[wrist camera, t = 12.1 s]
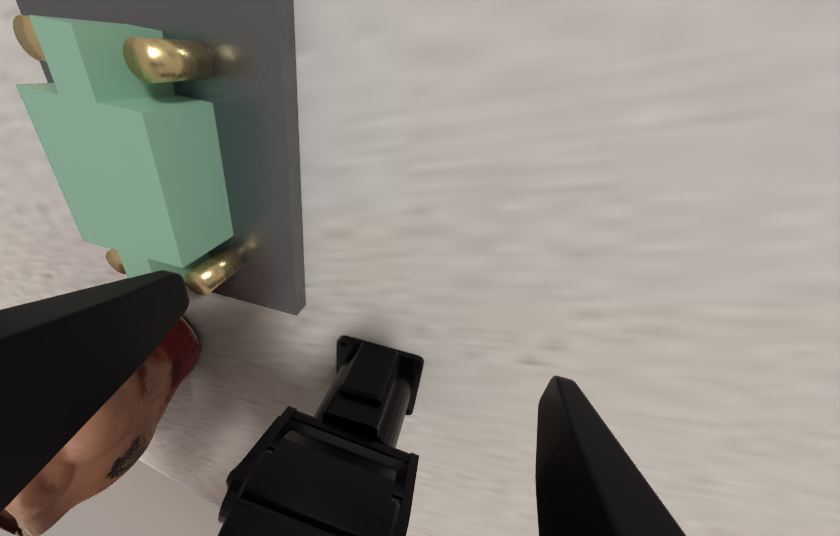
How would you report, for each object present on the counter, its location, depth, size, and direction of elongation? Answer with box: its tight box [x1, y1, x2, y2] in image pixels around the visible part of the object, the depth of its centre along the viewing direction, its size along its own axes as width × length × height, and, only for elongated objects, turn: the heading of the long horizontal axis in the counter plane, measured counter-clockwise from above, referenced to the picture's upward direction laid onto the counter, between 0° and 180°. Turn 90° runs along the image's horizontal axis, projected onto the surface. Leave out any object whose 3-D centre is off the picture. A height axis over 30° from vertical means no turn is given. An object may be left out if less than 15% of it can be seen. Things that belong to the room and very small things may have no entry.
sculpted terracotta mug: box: [0, 317, 201, 536], centre depth 25 cm, size 20×12×14 cm, turn 149°
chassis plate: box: [13, 0, 306, 315], centre depth 19 cm, size 14×18×4 cm
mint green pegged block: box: [16, 15, 234, 282], centre depth 18 cm, size 6×13×4 cm, turn 171°
